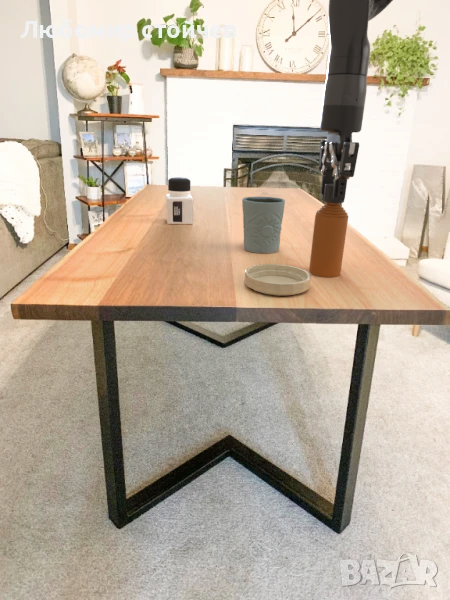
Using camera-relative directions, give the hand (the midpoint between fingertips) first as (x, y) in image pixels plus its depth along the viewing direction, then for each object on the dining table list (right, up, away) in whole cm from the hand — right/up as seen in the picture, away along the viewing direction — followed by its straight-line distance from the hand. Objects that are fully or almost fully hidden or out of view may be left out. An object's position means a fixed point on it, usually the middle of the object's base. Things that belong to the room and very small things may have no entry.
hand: (331, 196), depth 87 cm
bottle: (0, -14, +6) cm, 15 cm away
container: (-35, +3, +48) cm, 60 cm away
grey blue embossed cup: (-12, -8, +22) cm, 26 cm away
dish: (-11, -18, -4) cm, 21 cm away
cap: (0, -1, 0) cm, 1 cm away
